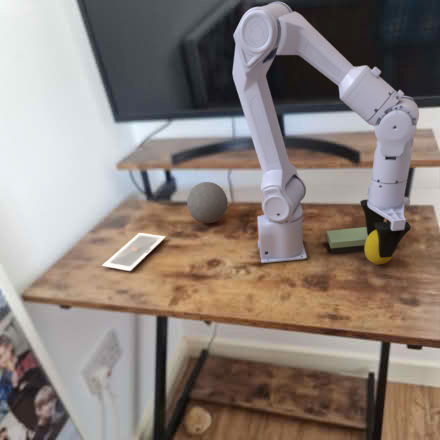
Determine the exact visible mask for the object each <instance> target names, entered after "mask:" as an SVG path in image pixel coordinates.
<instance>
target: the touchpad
mask: <svg viewBox="0 0 440 440" xmlns="http://www.w3.org/2000/svg"><path fill="white" fill-rule="evenodd" d="M166 237H167V236H166V235H158V234H151V233H143V232H138V233H137V234H136V235H135V236H134V237H132V238H131V239H130V240H129V241H128V242H127V243H125V244H124V245H123V246H122V247H121V248H120V249H119V250H118V251H116V252H115V253H114V254H113V255H112V256H111V257H109V259H107V260H106V261H105V262H104V263H103V264H102V265H101V266H102V267H107V268H112V269H117V270H121V271H127V272H131V271H132V270H133V269H134V268H135V267H136V266H138V265H139V263H140V262H141V261H142V260H143V259H145V258H146V256H147V255H149V254H150V253H151V252H152V251H153V250H154V249H155V248H157V246H158V245H159V244H160V243H161V242H162V241H163V240H164V239H165V238H166Z"/></svg>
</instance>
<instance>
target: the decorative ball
mask: <svg viewBox="0 0 440 440" xmlns="http://www.w3.org/2000/svg"><path fill="white" fill-rule="evenodd" d="M186 200H187V201H186V204H187V210H188V212H189V215H190V216H191V217H192V218H193V219H194V220H196V221H197V222H199V223H201V224H213V223H215V222H218V221H219V220H221V218H223V217H224V215H225V214H226V211H227V209H228V197H227V194H226V192H225V190H224V188H222V187H221V186H220V185H218V184H217V183H215V182H211V181H204V182H200V183H197V184H196V185H194V186H193V187H192V188H191V190H190V191H189V193H188V195H187V199H186Z"/></svg>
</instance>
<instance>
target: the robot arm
mask: <svg viewBox="0 0 440 440" xmlns="http://www.w3.org/2000/svg"><path fill="white" fill-rule="evenodd" d="M233 39H234V43H235V47H234V56H233V65H232V79H233V82H234V86H235V88H236V89H235V90H236V91H237V94H238V98H239V101H240V105H241V109H242V112H243V114H244V118H245V120H246V121H245V122H246V124H247V127H248V131H249V133H250V137H251V140H252V144H253V146H254V149H255V152H256V155H257V160H258V162H259V166H260V169H261V173H262V177H261V184H260V192H261V196H262V200H261V210H262V212H263V214H261V215H258V216H257V218H256V219H257V222H256V223H257V236H258V240H257V250H259V256H260V262H261V264H269V263H280V262H281V263H282V262H289V261H300V260H307V258H308V255H307V252H306V249H305V246H304V243H303V239H304V238H303V235H304V234H303V230H304V228H303V227H304V225H303V223H304V222H303V221H304V211H303V207H302V205H301V204H302V203H301V202H302V200H303V199H304V198H305V196H306V193H307V187H306V183H305V182H304V180H303V179H302V177H300V175H299V173H298V171H297V168H296V166H295V165H294V164H292V163H291V162H290V160H289V156H288V152H287V149H286V145H285V142H284V141H285V140H284V138H283V134H282V131H281V127H280V123H279V120H278V119H279V118H278V116H277V111H276V109H275V105H274V101H273V98H272V95H271V94H272V93H271V91H270V87H269V84H268V80H267V74H268V71H269V69H270V67H271V66H272V63H273V61H274V59H275V57H276V56H299V57H300V58H302V59H303V60H305V61H306V62H307V63H308V64H309V65H310V66H312V67H313V68H315V69H316V70H318V72H320V73H321V74H323V76H325V77H326V78H328V79H329V80H330V81H331V82H332V83H334V85H337V86H338V91H339V92H338V93H339V99H340V101H342V102H343V103H344V104H345V105H346V106H347V107H349V108H350V109H351V110H352V111H353V112H354V113H356V114H357V115H358V116H359V117H360V118H361V119H362V120H363V121H365V122H366V124H367V125H370V126H373V127H374V131H373V132H374V135H375V138H376V148H375V149H374V155H373V163H372V169H371V170H372V171H371V178H370V185H368V187H367V196H368V197H367V198H366V199H361V200H360V202H359V203H360V205H361V208H362V211H363V214H364V219H365V227H366V228H367V234H368V236H369V234H370V233H371V232H373V231H374V230H377V234H378V240H379V256H380V258H386V257H392V255H393V253H394V254H395V252H396V250H397V247H398V246H399V243H400V242H401V241H400V240H402V239H403V238H404V237H405V235H407V234H408V233H409V232H410V231H411V224H410V223H409V222H408V221H407V219H406V217H405V206H408V205H409V206H410V204H411V199H410V198H409V197H407V196H405V194H406V190H407V189H406V188H407V185H408V184H407V183H408V177H409V172H410V166H411V160H412V154H413V148H412V147H413V145H414V141H415V140H414V136H415V134H416V133H417V125H418V122H419V118H420V109H419V107H418V106H419V105H417V103H416V101H414V98H413V97H411V96H408V95H405V93H404V92H403V91H402V89H399V90H398V91H397V90H395V88H393V87H392V86H391V85H390V84H389V83H388V82H387V81H385V79H383V77H381V76H380V75H381V74H382V71H381V70H380V69H379V67H377V66H374V67H373V68H370V66H368V65H365V64H364V65H360V66H359V65H358V66H353V64H352V63H351V62H350V61H349V60H348V59H347V58H346V57H345V56H344V55H343V54H342V53H340V52H339V50H337V49H336V48H335V47H334V46H333V45H332V44H331V43H330V42H329V41H328V40H327V39H326V38H325V37H324V36H323V35H322V34H321V33H320V32H319V31H318V30H317V29H316V28H315V27H314V26H312V24H311V23H310V22H308V20H307V19H306V18H305V17H304V16H303V15H302V14H300V13H299V12H297V11H293V10H292V8H291V7H290V6H289V5H288V4H287V3H284V2H283V1H272V2H270V3H268V4H266V5H262V6H254V7H251V8H250V9H248V10H247V11H245V13H244V14H243V15H242V17H241V19H240V21H239V23H238V25H237V27H236V29H235V31H234V33H233ZM394 251H395V252H394ZM393 256H394V255H393ZM392 258H393V257H392Z"/></svg>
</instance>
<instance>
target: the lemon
mask: <svg viewBox="0 0 440 440" xmlns="http://www.w3.org/2000/svg"><path fill="white" fill-rule="evenodd" d="M363 252H364V255H365V257H366V259H367V260H368V261H369V262H370V263H372V264H375V265H376V266H379V265H383V264H386V263H388V262H389V261H391V259H392V258H393V257H394V255H395V252H396V250H395V251H394V253H393V255H392V257H386V258H380V256H379V240H378V234H377V230H374V231H373V232H371V233H370V234H369V236H368V237H367V239H366V242H365V247H364V251H363Z"/></svg>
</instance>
